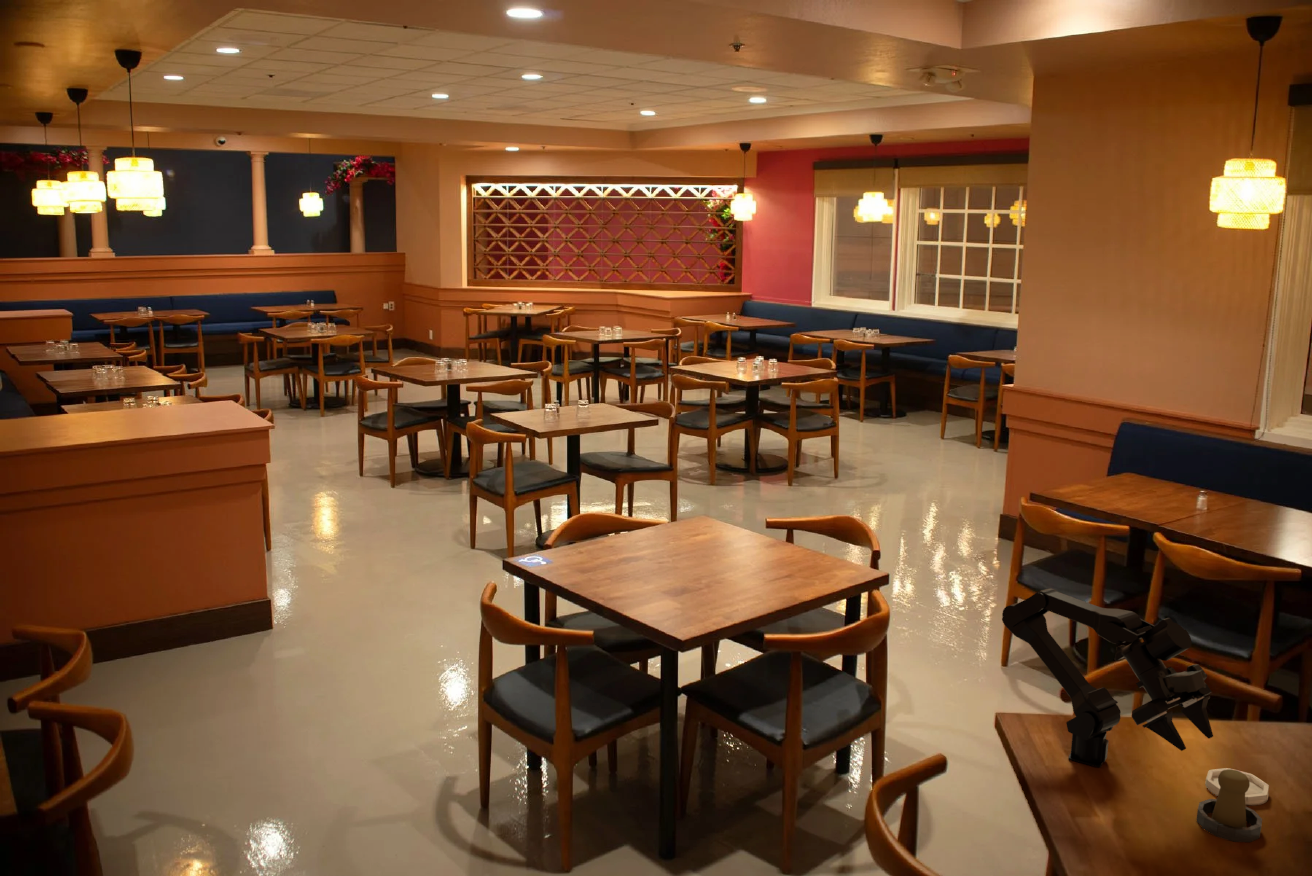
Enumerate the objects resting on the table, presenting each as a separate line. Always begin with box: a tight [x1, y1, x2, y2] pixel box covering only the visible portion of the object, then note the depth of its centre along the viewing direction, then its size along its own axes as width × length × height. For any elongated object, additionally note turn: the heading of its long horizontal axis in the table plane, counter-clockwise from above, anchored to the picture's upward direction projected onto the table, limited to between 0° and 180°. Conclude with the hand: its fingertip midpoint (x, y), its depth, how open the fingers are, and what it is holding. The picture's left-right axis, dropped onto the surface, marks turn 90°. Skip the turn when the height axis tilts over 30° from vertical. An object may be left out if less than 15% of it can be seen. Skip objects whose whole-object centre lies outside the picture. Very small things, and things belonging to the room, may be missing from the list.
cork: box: [1211, 768, 1250, 828], centre depth 198 cm, size 6×6×11 cm
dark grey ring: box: [1195, 798, 1263, 843], centre depth 199 cm, size 11×11×2 cm
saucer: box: [1205, 767, 1270, 806], centre depth 212 cm, size 11×11×2 cm
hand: (1197, 743), depth 203 cm, fingers open, 9 cm apart
